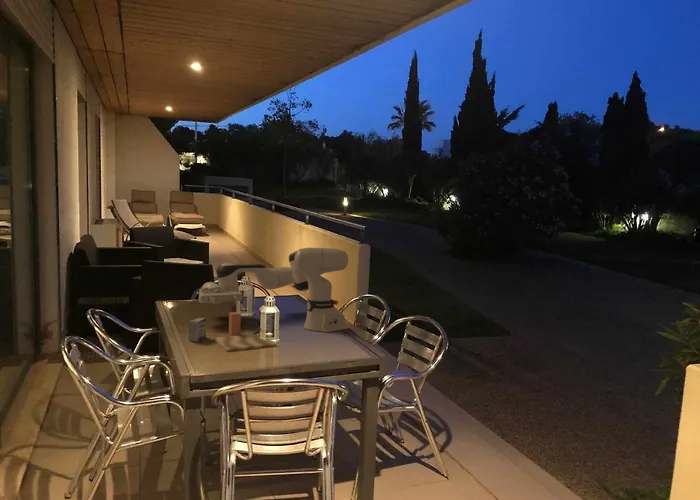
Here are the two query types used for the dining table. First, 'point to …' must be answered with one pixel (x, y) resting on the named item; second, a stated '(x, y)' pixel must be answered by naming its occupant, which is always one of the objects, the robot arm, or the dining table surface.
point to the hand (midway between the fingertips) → (225, 300)
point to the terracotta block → (234, 323)
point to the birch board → (243, 342)
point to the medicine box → (197, 329)
